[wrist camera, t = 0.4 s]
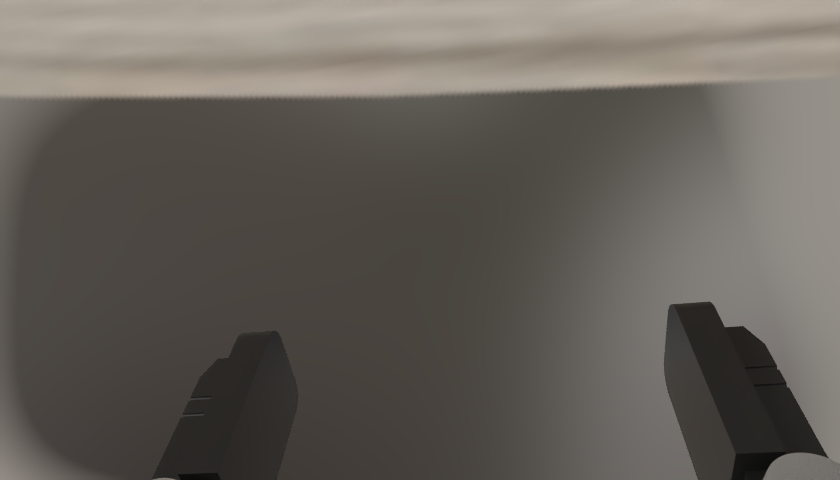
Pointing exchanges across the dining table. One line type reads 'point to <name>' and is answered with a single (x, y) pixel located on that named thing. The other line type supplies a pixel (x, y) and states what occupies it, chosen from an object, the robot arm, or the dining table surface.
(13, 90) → the dining table surface
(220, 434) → the robot arm
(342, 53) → the dining table surface
